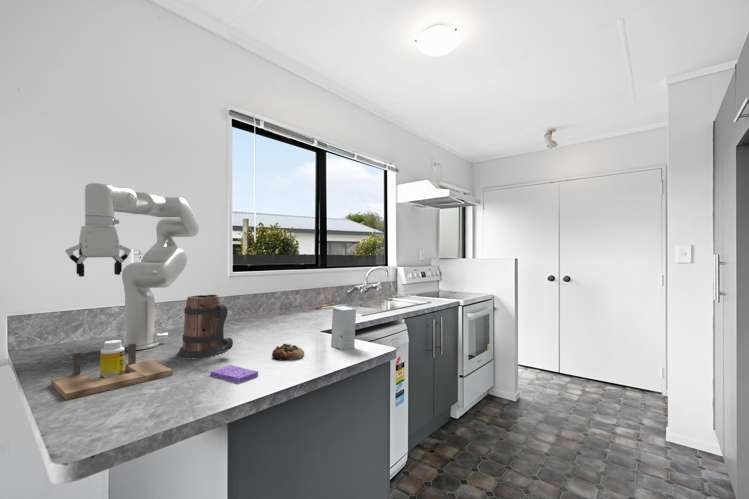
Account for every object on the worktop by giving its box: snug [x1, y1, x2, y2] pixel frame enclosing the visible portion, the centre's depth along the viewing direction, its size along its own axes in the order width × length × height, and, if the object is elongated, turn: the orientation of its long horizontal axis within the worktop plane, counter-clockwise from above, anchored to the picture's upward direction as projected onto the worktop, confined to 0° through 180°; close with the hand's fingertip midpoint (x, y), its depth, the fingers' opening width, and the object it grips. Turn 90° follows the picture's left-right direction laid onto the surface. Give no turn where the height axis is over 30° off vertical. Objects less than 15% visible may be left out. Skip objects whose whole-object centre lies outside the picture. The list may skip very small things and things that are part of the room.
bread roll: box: [271, 343, 305, 361], centre depth 126 cm, size 11×11×5 cm
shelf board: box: [50, 343, 174, 401], centre depth 102 cm, size 24×17×8 cm
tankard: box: [175, 294, 234, 360], centre depth 130 cm, size 24×17×20 cm
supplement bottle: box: [99, 339, 126, 379], centre depth 103 cm, size 6×6×10 cm
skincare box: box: [330, 305, 357, 351], centre depth 139 cm, size 8×6×15 cm
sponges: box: [209, 364, 259, 384], centre depth 106 cm, size 7×13×2 cm, turn 59°
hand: (99, 275), depth 119 cm, fingers open, 9 cm apart
